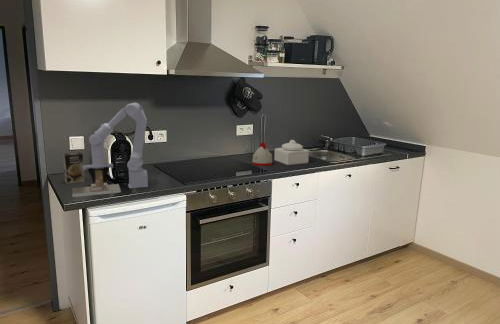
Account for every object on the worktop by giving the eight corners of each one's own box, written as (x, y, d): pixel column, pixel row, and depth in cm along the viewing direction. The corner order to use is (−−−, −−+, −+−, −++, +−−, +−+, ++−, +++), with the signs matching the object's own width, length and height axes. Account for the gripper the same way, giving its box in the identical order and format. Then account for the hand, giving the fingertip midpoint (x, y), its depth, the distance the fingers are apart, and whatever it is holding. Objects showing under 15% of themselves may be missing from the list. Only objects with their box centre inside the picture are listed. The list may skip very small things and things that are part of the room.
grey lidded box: (274, 160, 278) (275, 138, 275) (295, 158, 287) (296, 137, 283) (287, 165, 263) (288, 142, 260) (309, 163, 271) (310, 140, 268)
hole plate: (118, 187, 204) (118, 183, 203) (120, 193, 194) (120, 189, 193) (72, 191, 195) (72, 187, 194) (72, 198, 185) (72, 193, 185)
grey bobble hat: (257, 166, 257) (257, 144, 254) (249, 162, 270) (249, 141, 267) (275, 165, 263) (276, 143, 260) (266, 161, 275) (267, 140, 272)
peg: (103, 184, 208) (102, 169, 206) (103, 186, 204) (102, 171, 203) (95, 184, 206) (94, 170, 204) (95, 186, 203) (94, 171, 201)
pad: (107, 183, 210) (107, 182, 210) (108, 187, 203) (108, 186, 203) (91, 185, 207) (91, 184, 207) (91, 189, 200) (91, 188, 200)
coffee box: (67, 184, 207) (64, 155, 204) (64, 182, 212) (62, 153, 209) (85, 182, 212) (82, 153, 209) (82, 179, 217) (80, 151, 214)
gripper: (111, 154, 208) (113, 178, 211) (82, 156, 203) (84, 181, 205) (112, 156, 202) (114, 181, 205) (82, 158, 196) (84, 184, 199)
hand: (99, 181), depth 205 cm, fingers open, 5 cm apart
